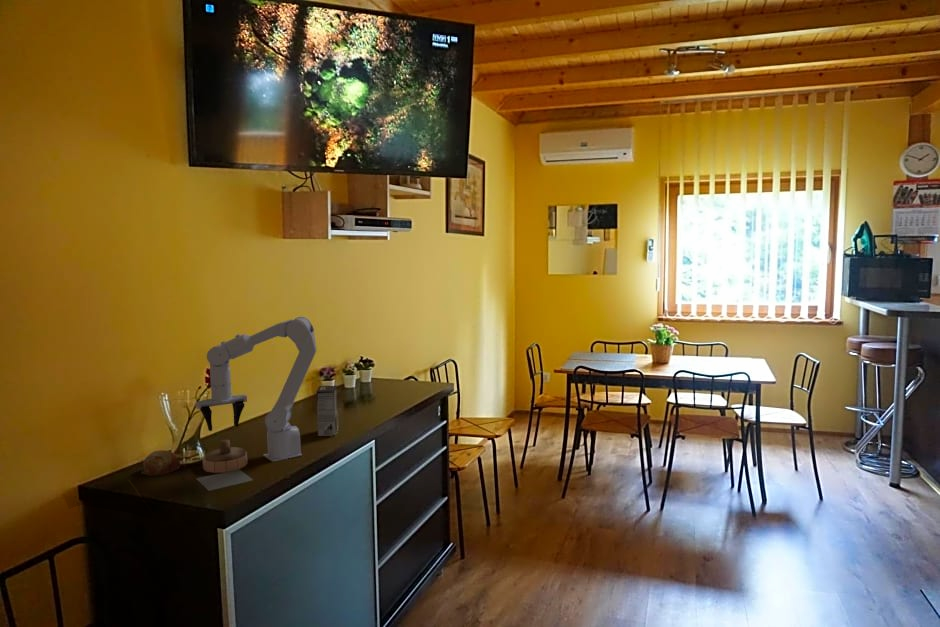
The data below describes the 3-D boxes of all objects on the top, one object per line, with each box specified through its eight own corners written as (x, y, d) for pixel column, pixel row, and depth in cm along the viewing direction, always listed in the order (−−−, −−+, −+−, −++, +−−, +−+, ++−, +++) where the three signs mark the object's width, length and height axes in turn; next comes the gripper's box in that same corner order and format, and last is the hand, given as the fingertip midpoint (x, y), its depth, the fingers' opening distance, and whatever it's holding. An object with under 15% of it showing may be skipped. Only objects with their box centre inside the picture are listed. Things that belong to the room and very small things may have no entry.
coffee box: (320, 430, 225) (318, 385, 223) (338, 429, 226) (337, 384, 224) (317, 437, 216) (315, 391, 214) (336, 436, 217) (334, 390, 215)
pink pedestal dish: (239, 447, 194) (238, 433, 194) (249, 456, 185) (249, 441, 185) (201, 454, 188) (200, 440, 187) (210, 464, 179) (209, 449, 178)
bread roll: (145, 481, 186) (130, 460, 183) (176, 459, 192) (163, 438, 189) (156, 490, 179) (142, 468, 176) (189, 466, 185) (175, 445, 182)
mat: (239, 470, 184) (239, 468, 184) (253, 481, 174) (253, 480, 174) (196, 479, 176) (195, 478, 176) (208, 492, 167) (208, 490, 167)
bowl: (239, 457, 196) (238, 446, 195) (252, 467, 186) (252, 455, 186) (198, 465, 188) (198, 454, 188) (210, 476, 179) (210, 464, 178)
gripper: (198, 389, 184) (201, 435, 186) (248, 383, 193) (251, 426, 194) (193, 386, 190) (195, 429, 191) (242, 379, 198) (244, 421, 200)
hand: (223, 428), depth 193 cm, fingers open, 7 cm apart
